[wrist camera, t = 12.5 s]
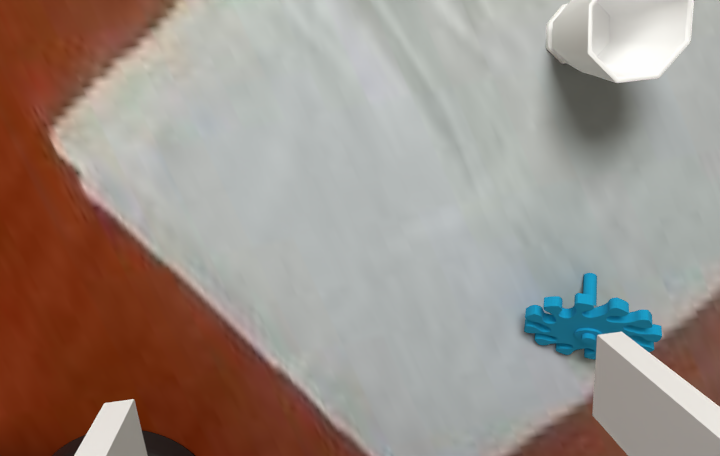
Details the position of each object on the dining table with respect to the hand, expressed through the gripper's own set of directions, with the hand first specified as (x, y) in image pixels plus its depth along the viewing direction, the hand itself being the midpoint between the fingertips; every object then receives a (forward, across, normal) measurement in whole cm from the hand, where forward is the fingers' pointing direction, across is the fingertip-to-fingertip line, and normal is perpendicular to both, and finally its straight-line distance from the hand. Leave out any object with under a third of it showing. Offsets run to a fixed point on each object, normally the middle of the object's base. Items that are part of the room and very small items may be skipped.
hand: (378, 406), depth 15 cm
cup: (+26, +20, +12) cm, 35 cm away
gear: (+26, +20, -12) cm, 35 cm away
